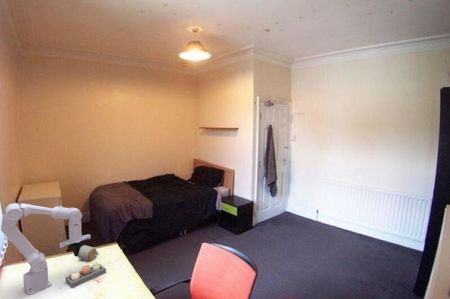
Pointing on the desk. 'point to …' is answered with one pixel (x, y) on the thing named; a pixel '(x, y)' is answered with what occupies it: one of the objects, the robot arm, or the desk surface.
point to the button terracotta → (85, 270)
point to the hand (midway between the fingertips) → (76, 255)
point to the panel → (85, 277)
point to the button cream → (75, 276)
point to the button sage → (96, 267)
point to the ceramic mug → (87, 253)
